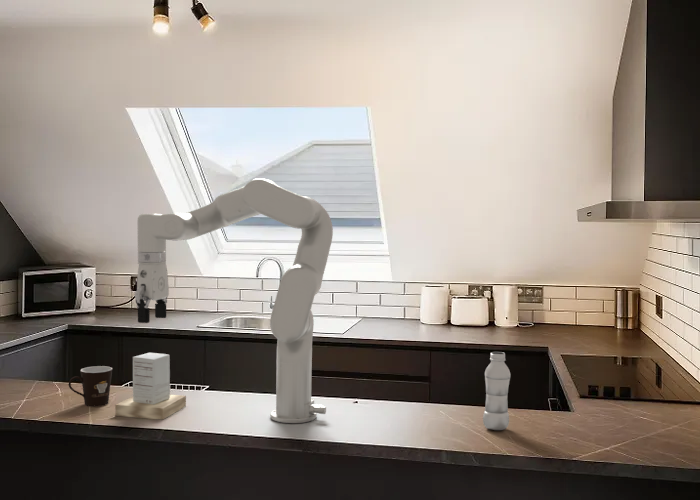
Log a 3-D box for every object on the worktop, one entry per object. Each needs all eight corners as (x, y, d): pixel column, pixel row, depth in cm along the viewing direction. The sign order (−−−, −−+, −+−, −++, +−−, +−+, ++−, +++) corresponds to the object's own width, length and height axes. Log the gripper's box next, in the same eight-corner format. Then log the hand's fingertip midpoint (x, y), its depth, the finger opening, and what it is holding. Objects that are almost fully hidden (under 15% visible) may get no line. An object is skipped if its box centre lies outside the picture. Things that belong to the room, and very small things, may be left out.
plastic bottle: (480, 425, 188) (482, 350, 187) (506, 426, 187) (508, 351, 187) (484, 432, 181) (486, 355, 180) (511, 433, 181) (513, 355, 180)
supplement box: (149, 395, 202) (149, 351, 201) (170, 398, 199) (170, 354, 198) (131, 402, 195) (131, 356, 194) (153, 405, 192) (153, 358, 191)
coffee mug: (112, 399, 209) (112, 365, 209) (112, 406, 201) (112, 371, 201) (70, 401, 206) (70, 367, 205) (68, 409, 197) (68, 374, 197)
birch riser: (185, 406, 203) (185, 395, 202) (162, 419, 189) (162, 408, 189) (141, 402, 206) (141, 392, 205) (115, 415, 192) (115, 404, 192)
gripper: (149, 260, 186) (149, 325, 187) (178, 257, 203) (178, 316, 204) (123, 260, 188) (123, 324, 188) (154, 256, 205) (154, 315, 205)
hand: (152, 320), depth 196 cm, fingers open, 9 cm apart
